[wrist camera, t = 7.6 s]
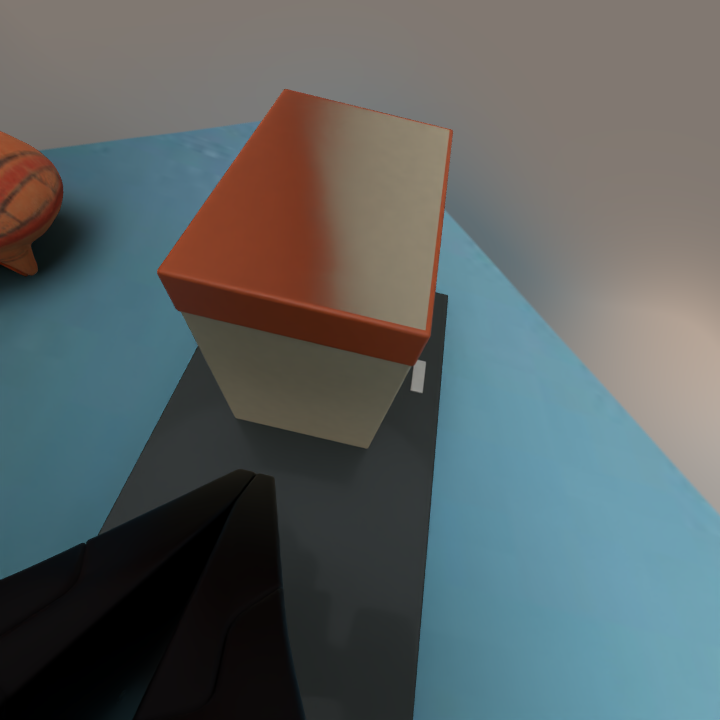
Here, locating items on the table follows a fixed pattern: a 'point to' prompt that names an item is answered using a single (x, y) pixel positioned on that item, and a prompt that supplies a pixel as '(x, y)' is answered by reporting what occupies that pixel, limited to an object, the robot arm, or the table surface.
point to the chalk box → (317, 266)
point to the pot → (25, 202)
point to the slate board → (323, 527)
